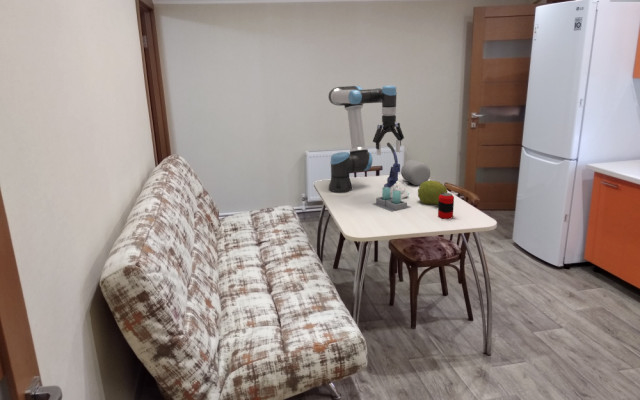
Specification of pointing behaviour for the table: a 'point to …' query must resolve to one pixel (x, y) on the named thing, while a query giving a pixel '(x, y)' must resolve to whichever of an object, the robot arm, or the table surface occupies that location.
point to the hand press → (393, 169)
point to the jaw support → (397, 187)
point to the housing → (390, 204)
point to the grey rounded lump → (415, 172)
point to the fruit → (431, 192)
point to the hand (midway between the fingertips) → (388, 153)
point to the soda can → (445, 205)
